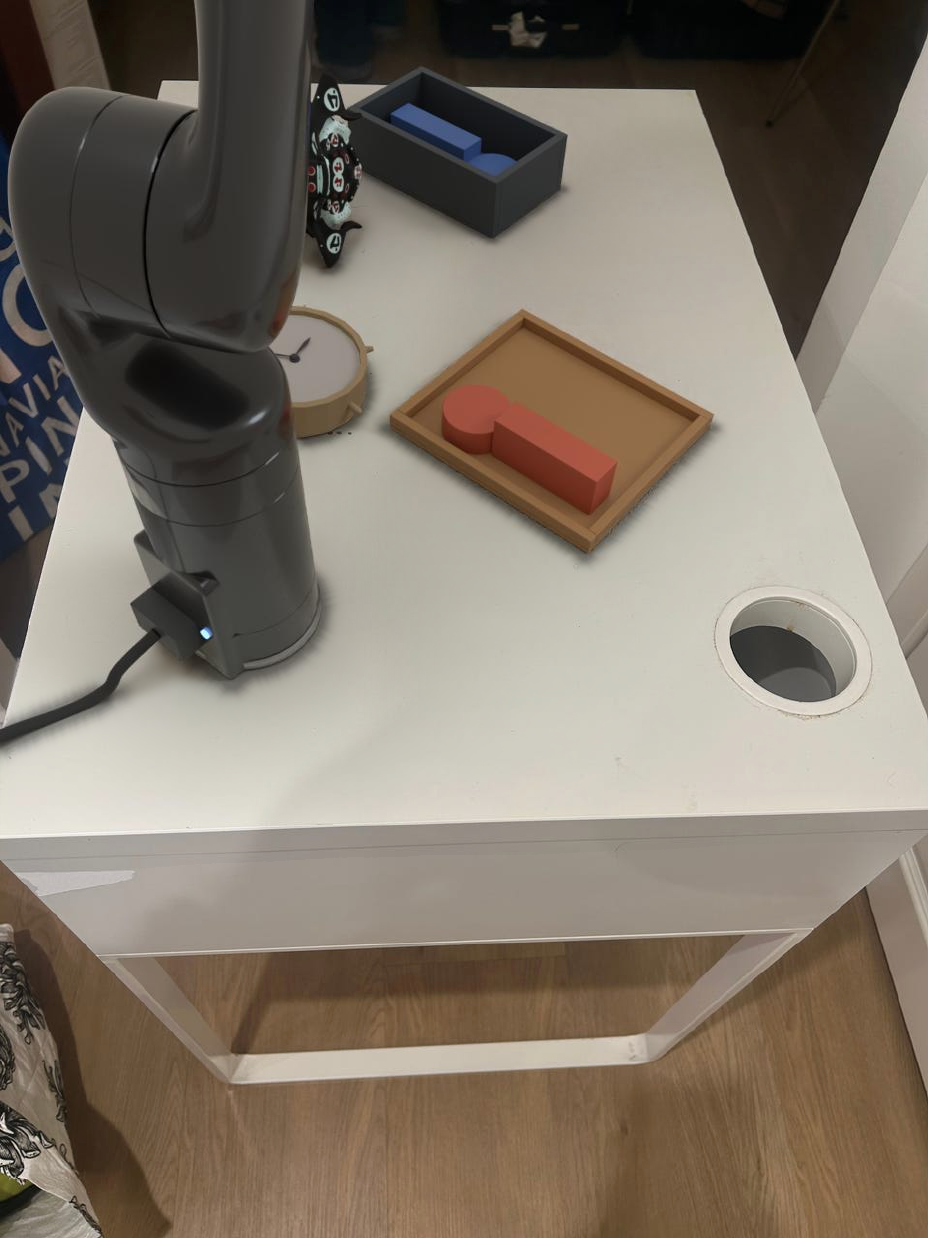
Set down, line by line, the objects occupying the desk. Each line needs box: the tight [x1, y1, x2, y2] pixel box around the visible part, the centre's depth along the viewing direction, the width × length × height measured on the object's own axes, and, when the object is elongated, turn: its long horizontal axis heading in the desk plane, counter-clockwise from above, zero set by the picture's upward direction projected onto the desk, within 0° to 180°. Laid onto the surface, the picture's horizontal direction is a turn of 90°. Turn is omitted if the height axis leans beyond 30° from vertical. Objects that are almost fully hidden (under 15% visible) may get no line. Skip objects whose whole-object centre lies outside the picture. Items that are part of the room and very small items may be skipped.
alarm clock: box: [269, 305, 375, 438], centre depth 75 cm, size 11×5×15 cm
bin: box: [346, 65, 569, 239], centre depth 91 cm, size 11×18×5 cm, turn 51°
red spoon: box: [442, 385, 617, 515], centre depth 71 cm, size 5×14×4 cm, turn 51°
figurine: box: [305, 70, 363, 269], centre depth 83 cm, size 10×15×14 cm
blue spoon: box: [391, 103, 516, 176], centre depth 92 cm, size 5×14×4 cm, turn 51°
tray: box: [389, 308, 715, 554], centre depth 75 cm, size 17×19×1 cm
